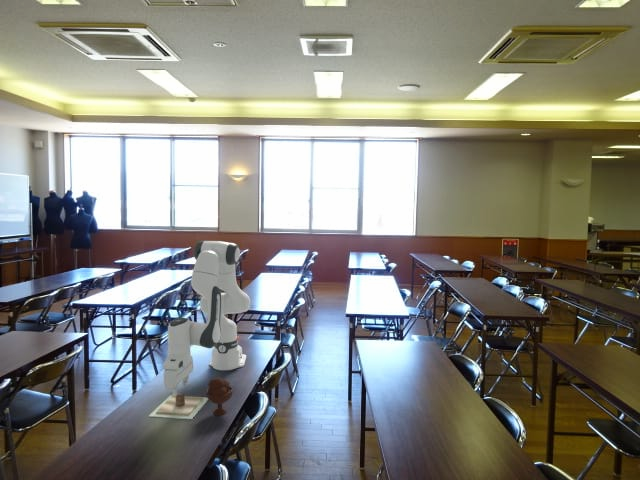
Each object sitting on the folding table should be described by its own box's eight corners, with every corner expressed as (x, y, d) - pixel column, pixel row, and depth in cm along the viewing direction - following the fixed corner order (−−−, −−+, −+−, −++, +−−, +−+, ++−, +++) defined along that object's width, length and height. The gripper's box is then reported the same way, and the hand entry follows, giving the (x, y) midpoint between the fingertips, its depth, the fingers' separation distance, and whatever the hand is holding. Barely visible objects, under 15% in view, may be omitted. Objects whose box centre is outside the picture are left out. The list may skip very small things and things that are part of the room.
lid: (172, 397, 183) (171, 387, 183) (202, 399, 182) (202, 388, 181) (156, 413, 169) (155, 402, 169) (189, 415, 168) (188, 404, 167)
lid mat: (170, 396, 185) (170, 395, 185) (209, 398, 183) (209, 397, 183) (149, 416, 168) (148, 415, 168) (191, 419, 165) (191, 418, 165)
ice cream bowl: (227, 420, 165) (226, 383, 164) (201, 417, 167) (200, 381, 166) (237, 407, 175) (237, 373, 174) (213, 404, 178) (212, 370, 176)
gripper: (183, 349, 184) (183, 379, 185) (160, 366, 164) (161, 400, 165) (196, 349, 183) (197, 380, 184) (175, 367, 163) (176, 401, 164)
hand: (180, 390), depth 174 cm, fingers open, 8 cm apart
